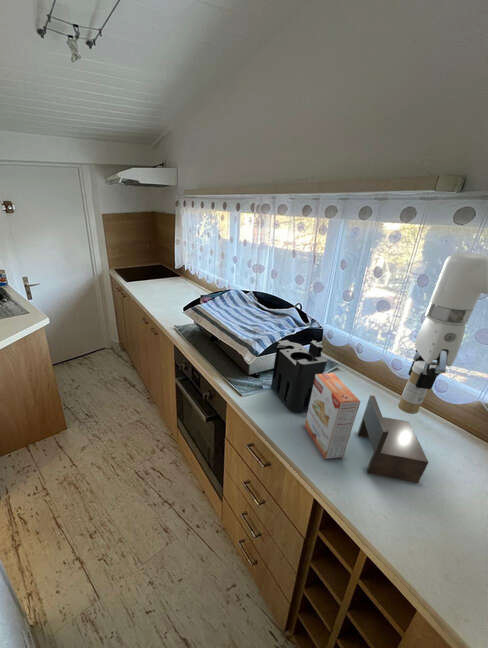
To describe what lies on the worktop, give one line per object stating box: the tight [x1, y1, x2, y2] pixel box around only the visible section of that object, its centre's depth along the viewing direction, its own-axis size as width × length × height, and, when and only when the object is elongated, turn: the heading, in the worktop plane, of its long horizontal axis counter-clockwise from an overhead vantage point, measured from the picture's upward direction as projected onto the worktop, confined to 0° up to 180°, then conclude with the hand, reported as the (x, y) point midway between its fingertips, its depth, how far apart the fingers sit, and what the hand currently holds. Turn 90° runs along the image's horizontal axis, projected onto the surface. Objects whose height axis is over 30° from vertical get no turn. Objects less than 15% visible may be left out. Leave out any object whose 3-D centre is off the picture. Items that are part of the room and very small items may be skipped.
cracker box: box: [304, 372, 361, 460], centre depth 89 cm, size 14×6×21 cm, turn 5°
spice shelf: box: [357, 395, 429, 484], centre depth 85 cm, size 12×16×15 cm
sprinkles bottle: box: [397, 361, 436, 415], centre depth 76 cm, size 5×5×14 cm
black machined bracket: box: [270, 339, 329, 413], centre depth 110 cm, size 12×21×22 cm, turn 13°
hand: (419, 381), depth 75 cm, fingers closed on sprinkles bottle, 4 cm apart
